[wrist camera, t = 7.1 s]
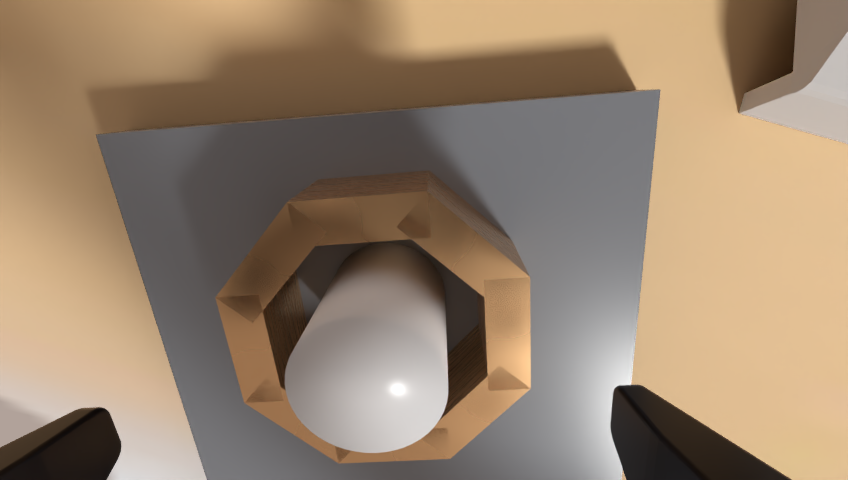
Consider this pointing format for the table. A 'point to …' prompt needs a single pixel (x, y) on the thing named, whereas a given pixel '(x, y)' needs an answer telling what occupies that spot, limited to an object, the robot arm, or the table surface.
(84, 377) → the table surface
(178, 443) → the table surface
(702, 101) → the table surface
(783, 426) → the table surface
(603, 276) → the base
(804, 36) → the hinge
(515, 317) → the ring
